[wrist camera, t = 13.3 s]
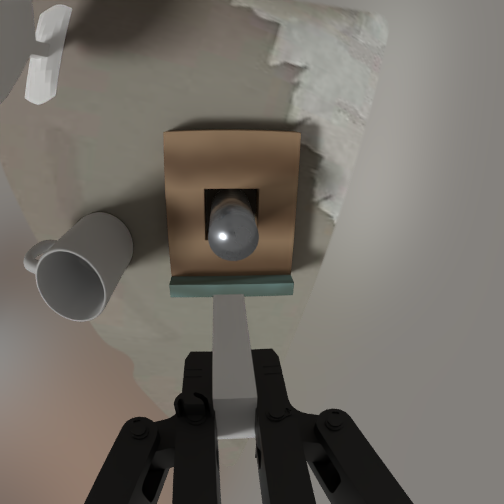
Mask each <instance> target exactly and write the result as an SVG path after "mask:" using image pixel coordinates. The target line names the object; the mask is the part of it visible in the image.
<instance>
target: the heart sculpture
mask: <svg viewBox="0 0 504 504" xmlns="http://www.w3.org/2000/svg"><path fill="white" fill-rule="evenodd" d="M71 12H72V8H70V7H68V6H65V5H60V4H57V5H55V6H53V7H51V8H49V9H47V10H46V11H44V12H43V13H42V14H40V17H39V21H38V25H37V30H36V34H35V26H34V10H33V4H32V0H0V104H1V103H2V102H3V101H4V100H5V99H6V98H7V96H8V95H9V93H10V91H11V90H12V88H13V86H14V85H15V83H16V81H17V80H18V78H19V77H20V75H21V73H22V71H23V69H24V67H25V65H26V63H27V61H28V59H29V57H30V64H29V70H28V77H27V84H26V92H25V98H26V99H27V100H28V101H30V102H32V103H34V104H38V105H40V104H42V103H45V102H46V101H48V100H50V99H51V98H53V97H54V96H56V89H57V82H58V75H59V69H60V63H61V57H62V52H63V47H64V42H65V37H66V33H67V28H68V24H69V20H70V16H71Z"/></svg>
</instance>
